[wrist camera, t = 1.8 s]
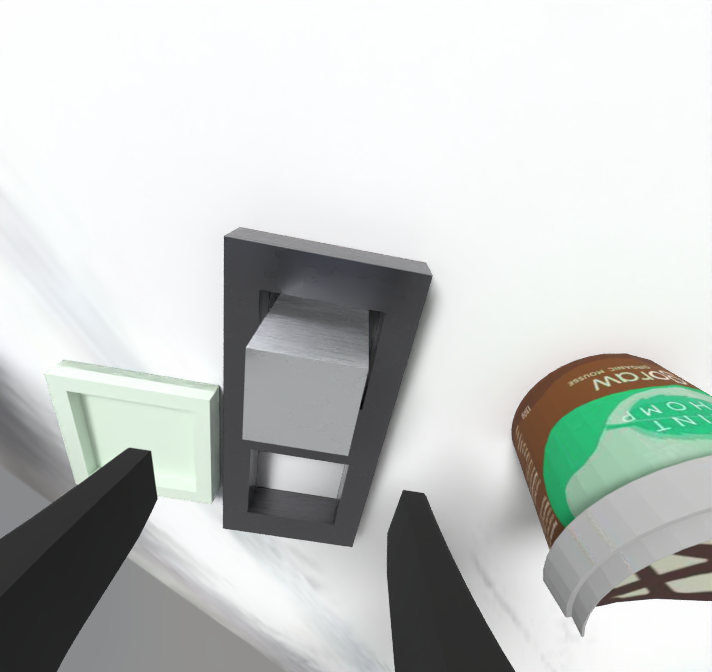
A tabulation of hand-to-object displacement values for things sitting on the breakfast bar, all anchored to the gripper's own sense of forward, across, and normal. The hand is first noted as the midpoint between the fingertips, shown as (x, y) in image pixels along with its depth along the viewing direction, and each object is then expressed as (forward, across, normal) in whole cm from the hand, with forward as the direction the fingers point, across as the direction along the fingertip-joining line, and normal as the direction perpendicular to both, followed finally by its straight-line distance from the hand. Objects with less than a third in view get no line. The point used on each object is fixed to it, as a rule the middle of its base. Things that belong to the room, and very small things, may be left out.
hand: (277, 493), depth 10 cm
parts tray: (+10, +10, +9) cm, 17 cm away
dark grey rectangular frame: (+10, 0, +5) cm, 11 cm away
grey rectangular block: (+10, 0, 0) cm, 10 cm away
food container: (+10, -16, 0) cm, 19 cm away
